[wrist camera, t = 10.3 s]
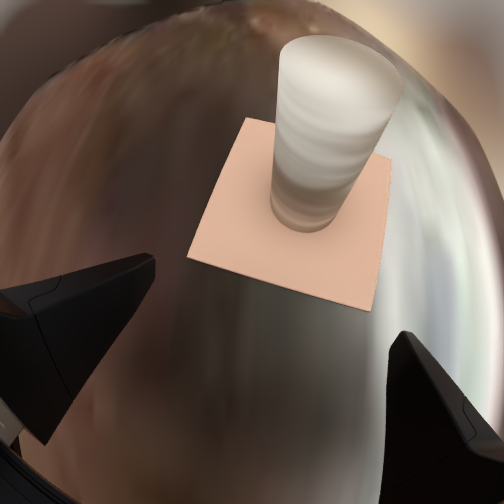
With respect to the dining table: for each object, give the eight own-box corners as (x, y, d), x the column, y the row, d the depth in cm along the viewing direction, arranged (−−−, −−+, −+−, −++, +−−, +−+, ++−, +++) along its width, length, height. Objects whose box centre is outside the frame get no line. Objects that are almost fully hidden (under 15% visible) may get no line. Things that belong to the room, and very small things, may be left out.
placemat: (368, 312, 18) (370, 311, 18) (188, 257, 20) (186, 256, 19) (390, 161, 22) (391, 159, 21) (246, 119, 23) (246, 117, 23)
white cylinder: (302, 246, 19) (355, 127, 8) (255, 195, 20) (252, 54, 9) (351, 206, 20) (423, 85, 9) (305, 161, 21) (335, 27, 10)
